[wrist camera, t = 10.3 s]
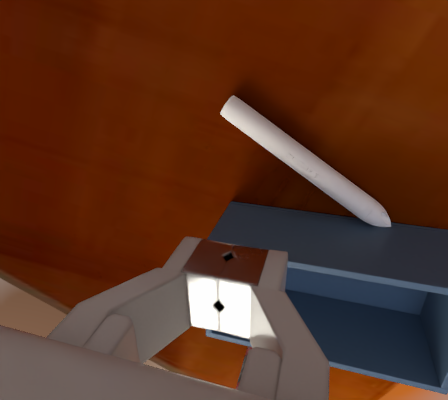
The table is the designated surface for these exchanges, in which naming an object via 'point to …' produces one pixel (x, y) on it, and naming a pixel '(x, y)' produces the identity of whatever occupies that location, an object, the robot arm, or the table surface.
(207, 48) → the table surface
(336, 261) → the blue box
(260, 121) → the marker
